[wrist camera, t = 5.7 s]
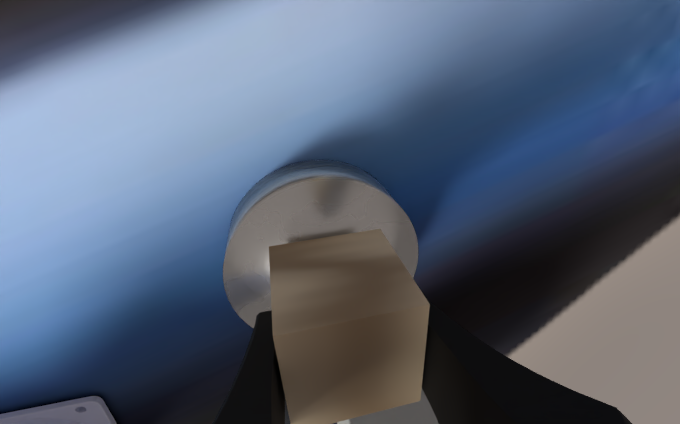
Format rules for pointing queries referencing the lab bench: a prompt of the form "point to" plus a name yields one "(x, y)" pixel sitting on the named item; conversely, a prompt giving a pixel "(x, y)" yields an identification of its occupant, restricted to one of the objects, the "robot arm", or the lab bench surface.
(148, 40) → the lab bench surface
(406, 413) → the supplement box
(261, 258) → the steel tin
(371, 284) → the beech block
